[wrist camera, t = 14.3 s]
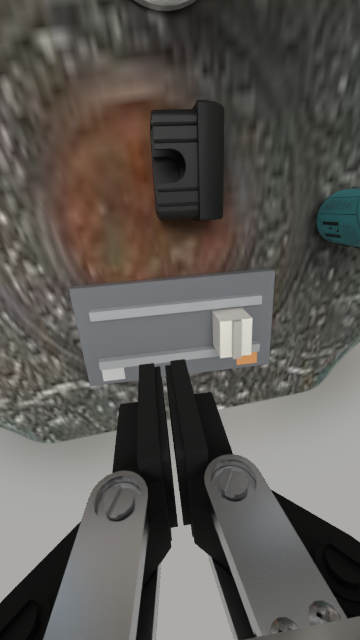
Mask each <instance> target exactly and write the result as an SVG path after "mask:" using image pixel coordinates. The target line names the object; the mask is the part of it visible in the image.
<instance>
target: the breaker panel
mask: <svg viewBox="0 0 360 640" xmlns="http://www.w3.org/2000/svg"><path fill="white" fill-rule="evenodd" d="M274 279H275V270H273V269H271V268H265V269H254V270H243V271H232V272H221V273H210V274H200V275H189V276H178V277H167V278H156V279H145V280H134V281H123V282H112V283H101V284H90V285H79V286H71V288H70V289H69V292H70V296H71V301H72V306H73V310H74V315H75V319H76V324H77V329H78V333H79V338H80V342H81V347H82V351H83V356H84V361H85V365H86V370H87V374H88V379H89V383H90V386H94V385H103V384H111V383H119V382H127V381H135V380H139V365H141V364H149V363H154V366H155V367H157V366H160V369H161V377H166V371H165V365H170V361H173V360H181V359H185V361H186V365H187V369H188V373H189V374H192V373H200V372H208V371H216V370H224V369H232V368H240V367H248V366H257V365H265V364H269V356H270V341H271V325H272V310H273V295H274ZM240 307H242V308H243V309H244V310H245V311H246V312H247V313H248V314H249V315H250V316H251V317H252V318H253V320H252V347H251V355H245V356H241V359H233V358H232V357H228V358H220V357H219V355H218V353H217V351H216V349H215V347H214V345H213V323H212V310H220V309H230V308H240Z"/></svg>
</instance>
